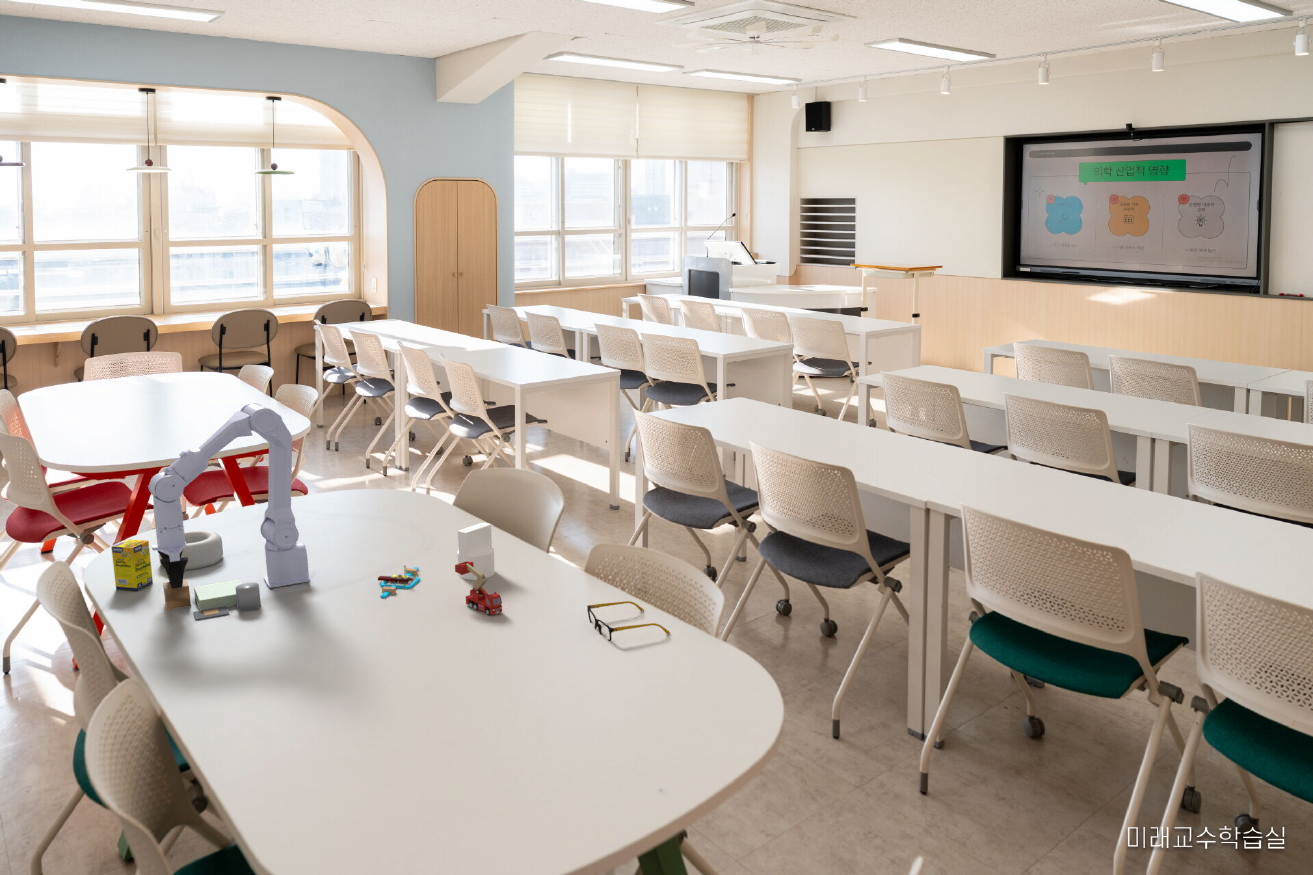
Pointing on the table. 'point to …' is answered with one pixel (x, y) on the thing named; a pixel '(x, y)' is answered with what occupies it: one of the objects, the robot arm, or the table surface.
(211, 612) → the card
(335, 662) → the table surface
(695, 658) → the table surface
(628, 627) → the eyeglasses
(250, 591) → the grey cylinder
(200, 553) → the donut shape
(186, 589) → the walnut cube
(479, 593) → the toy fire truck
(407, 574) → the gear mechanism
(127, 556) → the supplement box
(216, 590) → the sage slab
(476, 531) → the base with upright slab
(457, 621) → the table surface
